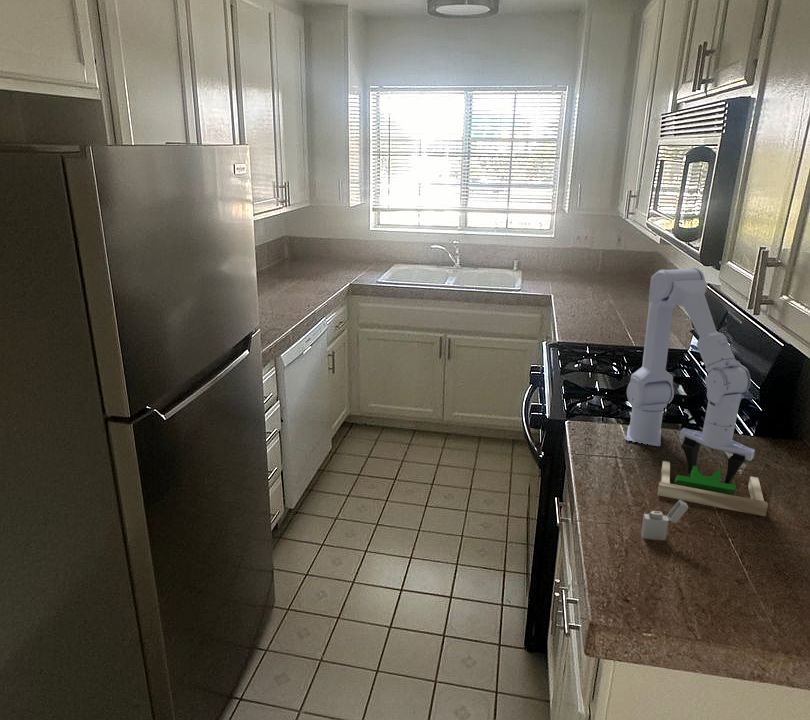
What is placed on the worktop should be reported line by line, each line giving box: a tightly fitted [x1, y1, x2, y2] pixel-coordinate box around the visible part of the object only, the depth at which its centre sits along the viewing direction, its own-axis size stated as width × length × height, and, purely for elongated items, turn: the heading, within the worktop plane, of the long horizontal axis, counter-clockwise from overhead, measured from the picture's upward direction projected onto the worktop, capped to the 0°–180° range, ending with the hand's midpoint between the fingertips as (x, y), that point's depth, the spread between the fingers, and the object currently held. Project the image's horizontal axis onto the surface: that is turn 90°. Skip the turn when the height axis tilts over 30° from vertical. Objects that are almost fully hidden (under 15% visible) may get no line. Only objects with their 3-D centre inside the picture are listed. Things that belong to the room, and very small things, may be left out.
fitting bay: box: [657, 460, 769, 517], centre depth 129 cm, size 12×20×2 cm, turn 67°
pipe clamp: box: [674, 465, 737, 495], centre depth 129 cm, size 11×4×5 cm
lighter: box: [640, 499, 689, 541], centre depth 113 cm, size 7×2×8 cm, turn 81°
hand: (709, 477), depth 131 cm, fingers open, 7 cm apart
